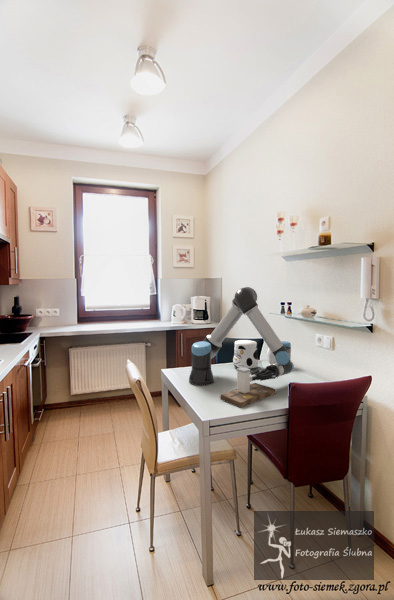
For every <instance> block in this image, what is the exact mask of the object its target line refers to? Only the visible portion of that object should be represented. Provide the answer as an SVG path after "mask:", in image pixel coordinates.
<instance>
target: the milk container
mask: <svg viewBox="0 0 394 600" xmlns="http://www.w3.org/2000/svg"><path fill="white" fill-rule="evenodd" d="M233 346H234V350H233V351H234V353H233V358H232V364H233V366H234V367H235V368H236V369H237V368H241V367H244V368H248V369H251V370H254V369H256V368H257V367H258V365H259V358H258V343H257V341H255V340H250V339H239V340H235V341H234V345H233Z"/></svg>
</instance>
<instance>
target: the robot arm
mask: <svg viewBox="0 0 394 600" xmlns="http://www.w3.org/2000/svg"><path fill="white" fill-rule="evenodd" d="M257 293H258V292H257V291H256V290H255V289H254V288H252V287H249V286H246V287H242V288H239V289H237V291H236V292H235V293H234V297H233V299H232V301H231V306H230V307H229V309H228V310H227V311H226V313H225V314H224V316H223V317H222V318H221V320H220V321H219V322H218V324H217V325H216V326H215V328H214V329H213V330H212V332H211V334H207V335H206V336H205V338H204V339H203V341H202V340H201V341H195V342H194V343H193V344H192V345H191V369H190V370H191V371H190V374H189V377H188V383H190V384H191V385H193V386H194V385H195V386H209V385H212V384H214V383H215V377H214V374H213V371H212V359H214V357H215V356H217V355H218V353H219V351H220V349H221V348H222V346H223V345H222V343H223V341H224V340H225V339H226V337H227V336H228V335H229V334H230V332H231V330H232V329H233V328H234V326H235V325H236V324H238V323H237V322H238V321H239V320H240V318H241V317H242V316H243V315H245V316H247V318H248V319H249V321H250V322H251V324H252V325H253V326H254V328H255V330H256V331H257V333H258V334H259V335H260V337H261V339H263V342H264V343H265V344H266V345H267V348H268V347H269V349H270V350H271V351H272V353H273V355H274V356H275V359H276V361H277V363H276V364H272V365H269V364H268V365H267V366H266V367H265V368H264V369H259V368H257V369H256V370H254V371H252V372H250V383H251V382H255V381H260V382H262V381H267V380H274V379H276V378H278V377H282V376H285V375H288V374H291V373H292V372H293V371H294V369H295V366H294V364H293V362H292V361H291V356H292V355H291V353H292V352H291V351H292V347H291V346H292V345H291V342H290V341H283V340H282V341H281V340H280V338H279V336H278V335H277V334H276V332H275V331H274V329H273V328H272V326H271V324H270V323H269V322H268V321H267V319H266V318H265V316H264V315H263V314H262V312H261V310H260V309H259V304H258V303H257V302H258V301H257V300H258V294H257Z"/></svg>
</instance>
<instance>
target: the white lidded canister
mask: <svg viewBox="0 0 394 600" xmlns="http://www.w3.org/2000/svg"><path fill="white" fill-rule="evenodd" d="M236 371H237V373H236V374H237V378H236V379H237V382H236V383H237V386H236V389H237V391H239V392H242V393H247V392H250V384H251V382H250V376H251V373H252V372H251V371H252V369H248V368H244V367H241V368H237V367H236Z"/></svg>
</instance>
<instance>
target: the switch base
mask: <svg viewBox="0 0 394 600" xmlns="http://www.w3.org/2000/svg"><path fill="white" fill-rule="evenodd" d="M276 391H277V389H276V388H273V387H270V386H268V385H264V384H260V383H257V382H254V383H250V392H247V393H242V392H239V391H237V388H236V389H233V390H229V391H226V392H224V393H221V394H220V395H219V397H220V398H219V399H220V400H222V401H224V402H226V403H229V404H230V405H233V406H236V407H239V408H243V407H246V406H248V405H251V404H254V403H256V402H258V401H261V400H263V399H266V398H269V397H271V396H274V395H276V394H277V392H276Z"/></svg>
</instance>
